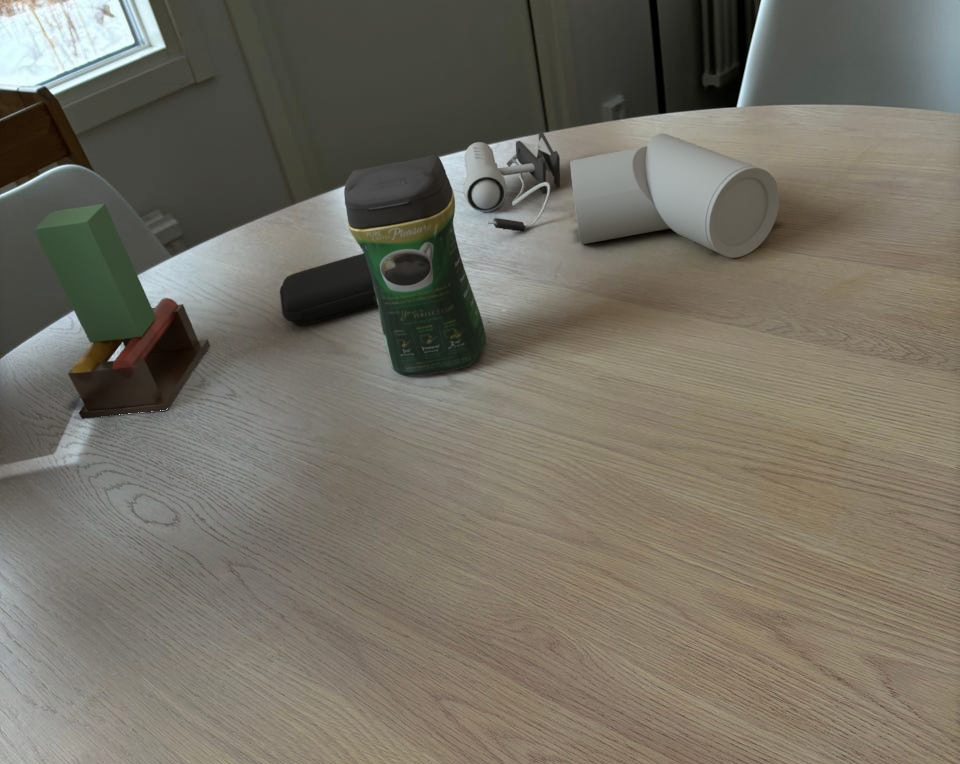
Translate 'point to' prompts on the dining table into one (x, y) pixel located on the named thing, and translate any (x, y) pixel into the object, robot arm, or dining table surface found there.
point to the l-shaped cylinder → (675, 196)
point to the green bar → (95, 272)
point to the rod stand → (140, 366)
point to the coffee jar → (415, 265)
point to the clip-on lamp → (489, 184)
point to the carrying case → (327, 291)
